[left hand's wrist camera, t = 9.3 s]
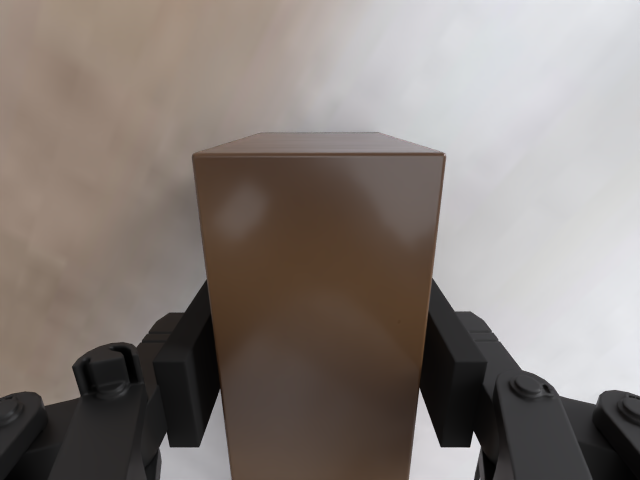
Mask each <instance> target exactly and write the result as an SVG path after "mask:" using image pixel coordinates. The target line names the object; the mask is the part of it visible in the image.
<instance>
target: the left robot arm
mask: <svg viewBox="0 0 640 480" xmlns="http://www.w3.org/2000/svg"><path fill="white" fill-rule="evenodd" d="M72 368H73V372H74V375H75V378H76V381H77V385H78V388H79V391H80V394H81V397H80V398H77V399H73V400H69V401H65V402H60V403H56V404H52V405H47V406H44V404H43V401H42V398H41V396H39V395H38V394H37V393H35V392H20V393H14V394H10V395H8V396H5V397H2V398H0V480H160V472H161V462H162V461H161V454H160V449H159V447H160V445H161V443H162V440H163V438H164V436H165V434H166V432H167V435H168V440H169V445H170V447H199V446H200V444H201V441H202V438H203V435H204V432H205V429H206V427H207V424H208V421H209V418H210V415H211V413H212V410H213V407H214V404H215V401H216V399H217V396H218V393H219V390H220V381H219V373H218V365H217V357H216V349H215V341H214V332H213V324H212V316H211V308H210V300H209V292H208V284H207V280H206V281H205V283H204V284H203V286H202V287H201V289H200V290H199V292H198V293H197V295H196V296H195V298H194V299H193V301H192V302H191V304H190V305H189V307H188V308H187V310H186V311H185V313H168V314H167V315H165V316H164V317H162V318H161V319H160V320H158V321H157V322H156V323H155V324H154V326H153V327H152V328H151V329H150V331H149V333H148V334H147V335H146V336H145V337H144V339H143V340H142V343H140V344H139V345H138V346H137V348H136V347H135V346H134V345H132V344H129V343H124V342H120V343H110V344H107V345H103V346H99V347H97V348H95V349H93V350H91V351H89V352H87V353H86V354H84V355H83V356H81V357H80V358H79V359H78V360H77V361H76V362H75V364H74V365H73V366H72ZM420 390H421V393H422V396H423V399H424V401H425V404H426V407H427V410H428V413H429V415H430V418H431V421H432V424H433V427H434V430H435V432H436V435H437V438H438V441H439V444H440V446H441V447H470V445H471V440H472V435H473V431H474V432H475V434H476V437H477V439H478V441H479V443H480V445H481V449H480V454H479V458H478V463H477V467H476V472H475V477H474V480H479V479H480V480H640V396H638V395H635V394H631V393H629V392H623V391H618V390H611V391H605V392H603V393H602V394H600V395H599V398H598V401H597V404H596V405H595V404H591V403H586V402H582V401H577V400H573V399H569V398H565V397H562V396H559V394H558V393H557V392H556V390H555V389H554V387H553V386H552V385H550V384H549V383H548V382H547V381H546V380H544V379H542V378H540V377H539V376H537V375H535V374H533V373H529V372H526V371H523V370H521V368H520V367H519V366H518V364H517V363H516V362H515V360H514V359H513V358H512V357H511V355H510V354H509V353H508V351H507V350H506V349H505V347H504V346H503V345H502V344H501V342H499V341H498V338H497V337H496V336H495V335H494V333H492V331H491V329H490V328H489V327H488V325H487V324H486V323H485V322H484V320H482V319H481V318H479V317H478V316H476V315H475V314H473V313H472V312H454V310H453V308H452V307H451V305H450V304H449V302H448V301H447V299H446V298H445V296H444V295H443V293H442V292H441V290H440V289H439V287H438V286H437V284H436V283H435V281H434V280H433V278H432V283H431V292H430V300H429V309H428V318H427V326H426V335H425V344H424V352H423V361H422V369H421V378H420Z"/></svg>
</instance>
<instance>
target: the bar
mask: <svg viewBox="0 0 640 480" xmlns="http://www.w3.org/2000/svg"><path fill="white" fill-rule="evenodd" d="M192 162H193V170H194V178H195V187H196V195H197V203H198V211H199V219H200V227H201V235H202V243H203V251H204V259H205V268H206V276H207V284H208V292H209V300H210V308H211V316H212V324H213V332H214V341H215V349H216V357H217V365H218V373H219V381H220V389H221V397H222V405H223V413H224V422H225V430H226V438H227V446H228V454H229V462H230V470H231V478H232V480H409V473H410V464H411V456H412V447H413V439H414V430H415V421H416V413H417V404H418V395H419V387H420V378H421V369H422V361H423V352H424V344H425V335H426V326H427V318H428V309H429V300H430V292H431V283H432V275H433V266H434V257H435V249H436V240H437V231H438V223H439V214H440V205H441V197H442V188H443V180H444V171H445V162H446V154H445V153H443V152H440V151H437V150H434V149H431V148H427V147H424V146H421V145H418V144H414V143H411V142H408V141H405V140H402V139H398V138H395V137H392V136H389V135H386V134H382V133H379V132H324V133H259V134H255V135H252V136H249V137H246V138H242V139H239V140H236V141H233V142H229V143H226V144H223V145H220V146H216V147H213V148H210V149H207V150H203V151H200V152H197V153H194V154H193V155H192Z"/></svg>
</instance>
